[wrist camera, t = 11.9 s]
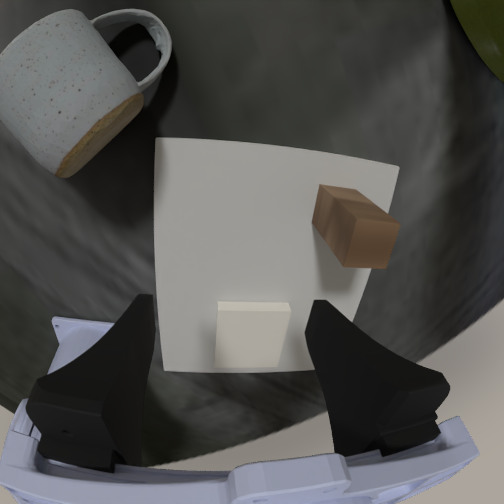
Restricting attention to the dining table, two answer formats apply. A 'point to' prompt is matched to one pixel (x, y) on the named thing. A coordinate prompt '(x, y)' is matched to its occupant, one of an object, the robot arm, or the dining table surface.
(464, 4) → the plant pot
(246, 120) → the dining table surface
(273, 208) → the mat
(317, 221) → the wooden block
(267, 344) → the tile
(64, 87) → the ceramic mug
